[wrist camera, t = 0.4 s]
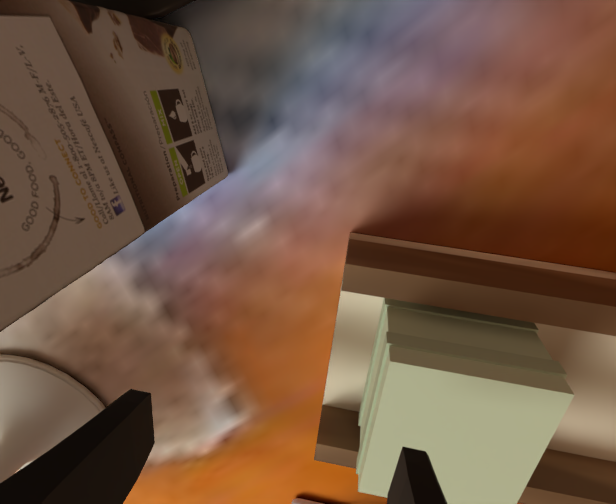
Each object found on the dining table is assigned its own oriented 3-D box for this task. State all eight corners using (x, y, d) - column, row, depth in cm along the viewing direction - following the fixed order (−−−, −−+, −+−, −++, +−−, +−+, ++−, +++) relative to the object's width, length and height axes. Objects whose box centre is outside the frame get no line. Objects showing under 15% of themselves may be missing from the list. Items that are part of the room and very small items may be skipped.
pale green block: (478, 425, 20) (507, 525, 16) (359, 402, 21) (355, 492, 16) (525, 309, 17) (579, 393, 13) (384, 285, 18) (387, 358, 13)
